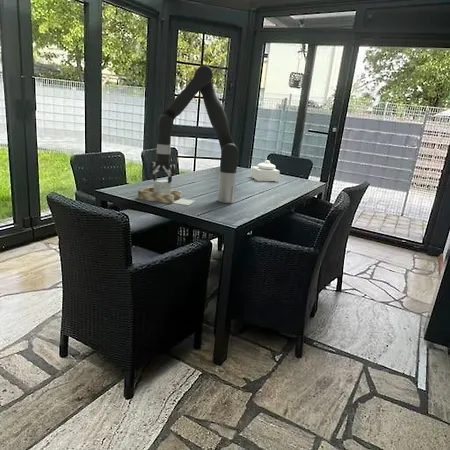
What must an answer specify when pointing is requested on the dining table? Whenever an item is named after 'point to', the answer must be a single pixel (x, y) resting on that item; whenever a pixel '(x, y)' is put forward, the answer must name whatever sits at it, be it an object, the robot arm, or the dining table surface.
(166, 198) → the beige piece
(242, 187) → the dining table surface
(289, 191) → the dining table surface
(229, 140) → the robot arm
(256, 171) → the butter dish
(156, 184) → the small box
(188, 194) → the dining table surface
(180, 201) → the mat
